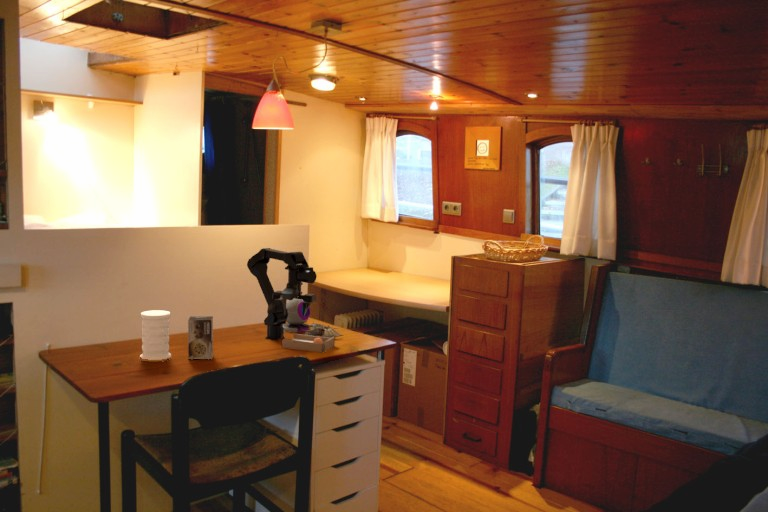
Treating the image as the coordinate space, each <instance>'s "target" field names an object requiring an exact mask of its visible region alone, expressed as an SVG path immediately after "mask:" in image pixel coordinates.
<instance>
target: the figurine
mask: <svg viewBox="0 0 768 512" xmlns="http://www.w3.org/2000/svg"><path fill="white" fill-rule="evenodd" d="M308 326H309V327H310V329H308V330H303V329H301V330H303V331H304V333H303V335H311V336H319V337H328V338H332V337H335V338H338V337H343V336H344V335H342V334H341V333H340V332H339V331H340V328H341V327H340V326H339V327H331V326H329V325H327V326H326V325H323V324H321V323H316V322H314V321H313V322H312V323H309V324H308ZM311 328H312V329H311ZM337 329H338V331H336V330H337Z"/></svg>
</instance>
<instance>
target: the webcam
mask: <svg viewBox="0 0 768 512" xmlns="http://www.w3.org/2000/svg"><path fill="white" fill-rule="evenodd" d="M302 302H304V301H303V299H294V298H293V300H287V301H286V308H287V310H288V311H287V312H288V317H287V320H286V322H287V323H285V324H283V328H284V332H289V333H302V332H304V333H305V331H303V330H311V327H309V326H308V325H309V324H308V323H306V322H308V320H309V319H310V316H311V308H310V306H309V308H308V310H307V312H306V314H305V316H304V317H303V304H302ZM301 329H303V330H301Z"/></svg>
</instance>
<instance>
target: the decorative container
mask: <svg viewBox="0 0 768 512" xmlns="http://www.w3.org/2000/svg"><path fill="white" fill-rule="evenodd" d="M140 317H141V318H142V321H141V326H142V329H141V334H142V337H141V342H142V345H141V350H142V353H141V354H140V355H139V358H140V357H141V358H142V359H148V360H162V359H167V358H170V357H171V358H172V353H170V352H169V350H170V345H169V342H170V336H169V333H170V329H169V326H170V320H169V318H170V317H171V311H168V310H164V309H163V310H162V309H161V310H160V309H156V310H155V309H153V310H152V309H151V310H145V311H141V312H140Z"/></svg>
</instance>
